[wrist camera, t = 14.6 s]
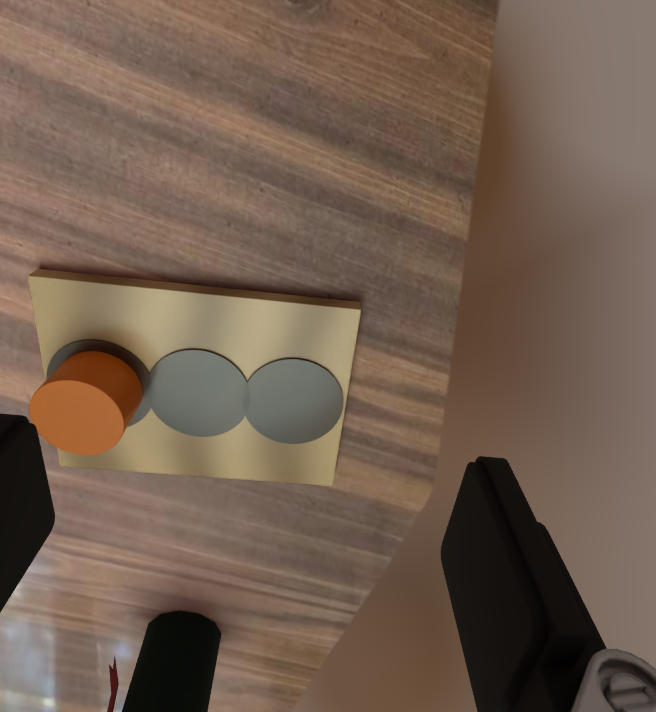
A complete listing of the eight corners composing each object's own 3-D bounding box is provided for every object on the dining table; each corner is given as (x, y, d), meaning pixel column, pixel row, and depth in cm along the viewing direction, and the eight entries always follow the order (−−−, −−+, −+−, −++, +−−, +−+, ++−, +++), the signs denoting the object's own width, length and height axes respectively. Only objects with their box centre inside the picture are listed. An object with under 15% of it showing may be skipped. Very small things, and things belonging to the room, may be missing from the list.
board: (359, 301, 35) (361, 310, 33) (332, 473, 42) (332, 487, 41) (38, 268, 33) (25, 276, 32) (68, 454, 41) (58, 468, 39)
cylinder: (140, 355, 34) (120, 384, 31) (144, 424, 37) (127, 458, 34) (51, 346, 34) (21, 375, 30) (63, 417, 37) (36, 452, 33)
